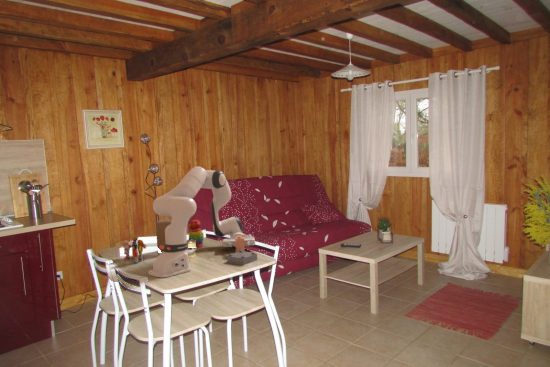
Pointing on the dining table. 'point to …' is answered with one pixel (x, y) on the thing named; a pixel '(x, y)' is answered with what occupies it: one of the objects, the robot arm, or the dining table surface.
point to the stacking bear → (196, 233)
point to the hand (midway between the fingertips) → (239, 245)
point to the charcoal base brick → (242, 257)
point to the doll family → (134, 249)
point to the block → (161, 231)
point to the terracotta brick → (239, 243)
